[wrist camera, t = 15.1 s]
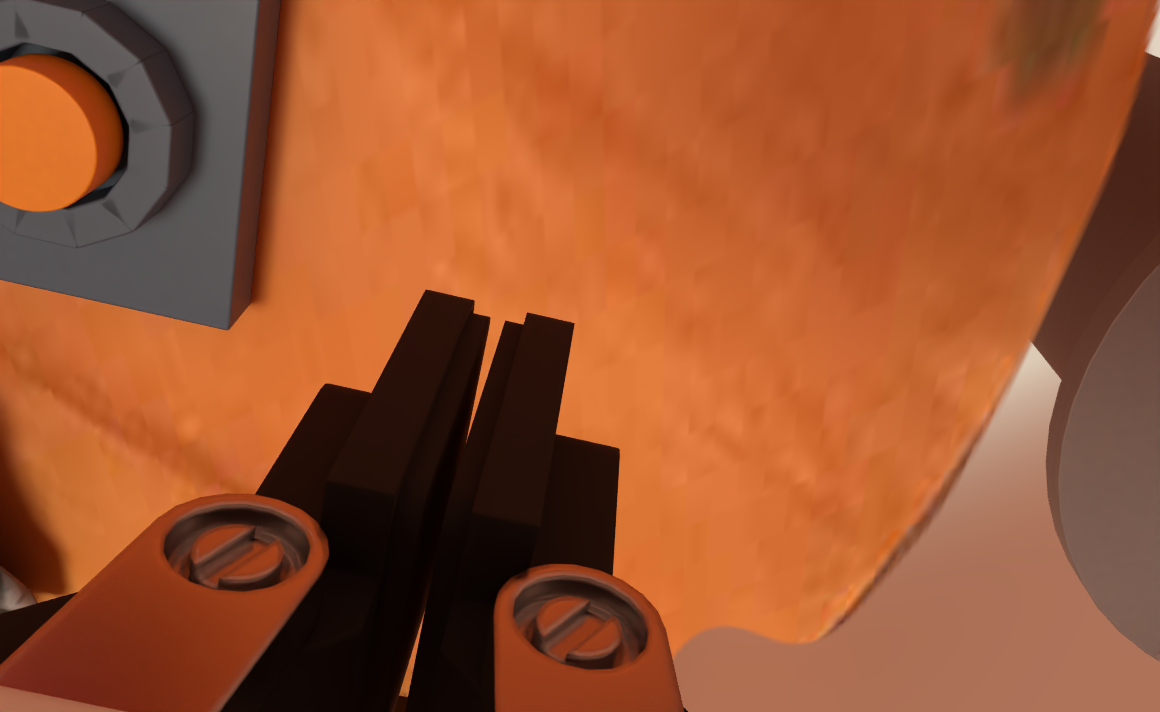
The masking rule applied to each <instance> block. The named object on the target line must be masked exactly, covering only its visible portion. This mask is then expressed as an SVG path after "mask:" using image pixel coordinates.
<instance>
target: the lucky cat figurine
mask: <svg viewBox="0 0 1160 712" xmlns="http://www.w3.org/2000/svg"><path fill="white" fill-rule="evenodd" d="M33 604H37V602H36V600H35V598H34V596H33V594H32V592H31V591H30V590H29V589H28V588H27V587H26V586H25V585H24V584H23V583H21V582H20V581H19V580H18V579H17V578H15V577H14V576H13V575H12V574H10V573H9V572H8V571H7V570H6V569H4V568H3V567H2V566H1V565H0V614H1V613H5V612H8V611H12V610H15V609H19V608H23V607H26V606H30V605H33Z"/></svg>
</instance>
